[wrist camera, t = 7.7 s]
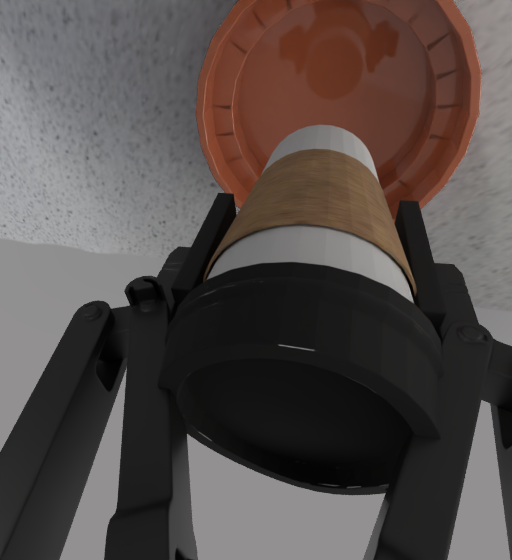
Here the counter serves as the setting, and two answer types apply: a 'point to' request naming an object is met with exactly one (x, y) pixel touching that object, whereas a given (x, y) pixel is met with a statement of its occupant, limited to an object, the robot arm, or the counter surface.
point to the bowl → (342, 88)
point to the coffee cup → (308, 328)
